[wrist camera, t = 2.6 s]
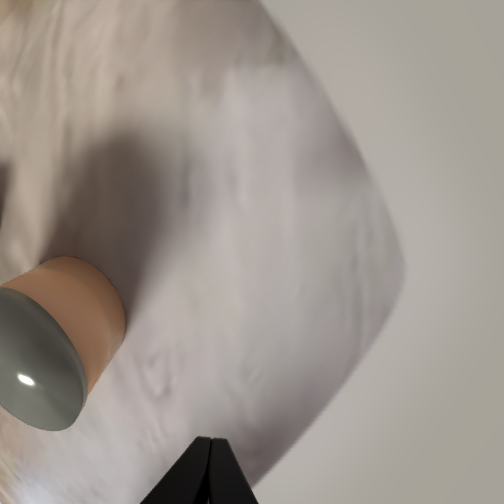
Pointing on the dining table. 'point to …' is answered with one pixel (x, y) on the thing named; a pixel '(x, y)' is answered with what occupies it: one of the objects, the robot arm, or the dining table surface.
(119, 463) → the dining table surface
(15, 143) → the dining table surface
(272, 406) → the dining table surface
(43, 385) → the jar terracotta
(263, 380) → the dining table surface
